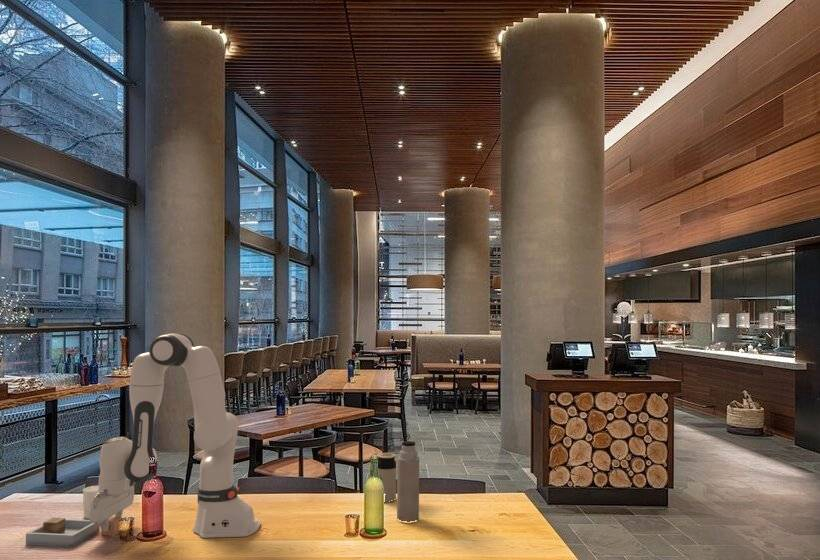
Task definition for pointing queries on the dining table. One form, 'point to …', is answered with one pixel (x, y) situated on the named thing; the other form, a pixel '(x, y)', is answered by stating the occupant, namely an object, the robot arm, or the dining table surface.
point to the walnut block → (54, 526)
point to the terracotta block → (112, 526)
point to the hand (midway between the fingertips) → (111, 527)
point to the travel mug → (388, 474)
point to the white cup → (89, 499)
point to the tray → (63, 534)
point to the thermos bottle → (408, 483)
